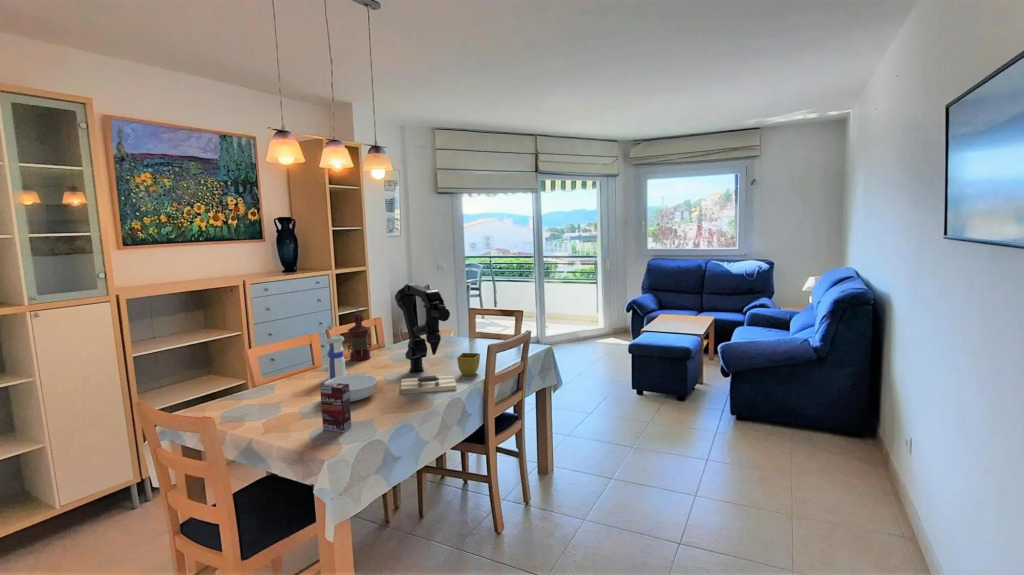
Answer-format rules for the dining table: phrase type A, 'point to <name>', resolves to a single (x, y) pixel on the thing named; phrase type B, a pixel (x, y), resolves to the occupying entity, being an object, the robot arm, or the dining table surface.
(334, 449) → the dining table surface
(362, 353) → the lantern
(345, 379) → the serving bowl
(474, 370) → the flower pot
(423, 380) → the dark grey chamfered block
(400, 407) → the dining table surface
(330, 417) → the supplement box
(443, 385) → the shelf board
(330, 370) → the water bottle
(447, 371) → the dining table surface
